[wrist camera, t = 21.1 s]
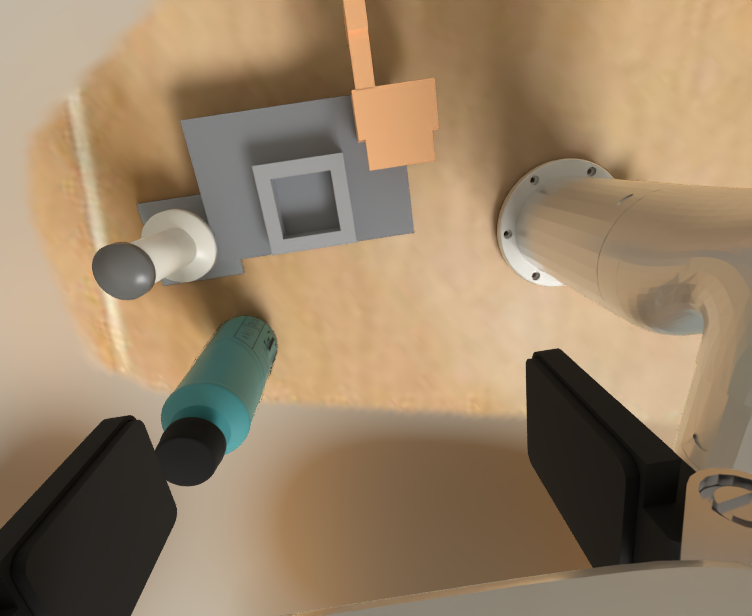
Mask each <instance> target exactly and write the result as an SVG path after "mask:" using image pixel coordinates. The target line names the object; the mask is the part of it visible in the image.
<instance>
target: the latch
mask: <svg viewBox="0 0 752 616" xmlns="http://www.w3.org/2000/svg"><path fill="white" fill-rule="evenodd" d="M343 17H344V24H345V31H346V38H347V45H348V47H349V50H350V57H351V64H352V71H353V78H354V85H355V90H351V101H352V108H353V114H354V121H355V128H356V135H357V142H358V143H360V142H365V143H366V151H367V158H368V165H369V170H370V171H371V170H378V169H384V168H391V167H398V166H404V165H411V164H417V163H424V162H431V161H435V155H434V144H433V133H432V131H433V130H436V129H439V124H438V112H437V100H436V88H435V78H428V79H421V80H415V81H408V82H401V83H395V84H388V85H381V86H375V82H374V74H373V66H372V58H371V50H370V43H369V35H368V22H367V14H366V7H365V0H343Z"/></svg>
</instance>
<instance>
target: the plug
mask: <svg viewBox="0 0 752 616" xmlns="http://www.w3.org/2000/svg"><path fill="white" fill-rule="evenodd" d="M217 255H218V245H217V240H216V237H215V235H214V233H213V231H212V229H211V228H210V226H209V225H208V224H207V223H206V222H205V221H204V220H203V219H202V218H201V217H199V216H198V215H196V214H194V213H192V212H190V211H187V210H182V209H171V210H166V211H163V212H160V213H157V214H155V215H153V216H152V217H151V218H150V219H149V220H148V221H147V222H146V224H145V225H144V227H143V230H142V233H141V239H138V240H136V241H133V242H130V243H127V242H117V243H113V244H110V245H107V246H105V247H103V248H101V249H100V250H99V251H98V252H97V253H96V254H95V256H94V258H93V262H92V270H93V275H94V277H95V280H96V281H97V283H98V284H99V286H100V287H101V288H102V289H103V290H104V291H105V292H106V293H108V294H109V295H111V296H113V297H115V298H118V299H122V300H133V299H136V298H139V297H140V296H142V295H144V294H146V293H147V292H148V291H150V290H151V288H152V287H153V285H154V283H156V282H158V281H160V280H162V279H163V278H167V279H169V280H172V281H176V282H191V281H194V280H197V279H199V278H200V277H202V276H203V275H205V274H206V273H208V272H209V271H210V270H211V269H212V267H213V266H214V264H215V262H216V259H217Z"/></svg>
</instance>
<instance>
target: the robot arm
mask: <svg viewBox="0 0 752 616" xmlns="http://www.w3.org/2000/svg"><path fill="white" fill-rule="evenodd" d="M588 169H589V173H588V174H587V171H588ZM531 178H533V181H532V182H530V179H531ZM505 231H507V234H506V235H504V232H505ZM497 239H498V244H499V249H500V251H501V254H502V256H503V258H504V260H505V261H506V263H507V264H508V266H509V267H510V268H511V269H512V270H513V271H514V272H515V273H516V274H517V275H519V276H520V277H522V278H523V279H525V280H527V281H529V282H531V283H533V284H537V285H541V286H550V287H557V286H564V285H566V286H567V287H569V288H571V289H572V290H574V291H576V292H578V293H579V294H581V295H583V296H584V297H586V298H588V299H589V300H591V301H593V302H595V303H596V304H598V305H600V306H601V307H603V308H605V309H606V310H608V311H610V312H612V313H613V314H615V315H617V316H618V317H620V318H622V319H624V320H626V321H627V322H629V323H631V324H633V325H635V326H637V327H639V328H641V329H643V330H646V331H649V332H653V333H657V334H662V335H673V336H687V335H696V334H703V335H702V340H701V344H700V348H699V351H698V355H697V358H696V368H695V372H694V375H693V379H692V382H691V386H690V389H689V393H688V396H687V400H686V403H685V407H684V410H683V414H682V417H681V421H680V424H679V429H678V432H677V436H676V440H675V443H674V449H673V450H672V449H671V448H669V447H668V446H667V445H666V444H665V443H664V442H663V441H662V440H661V439H659V438H658V437H657V436H656V435H655V434H654V433H653V432H652V431H651V430H650V429H648V428H647V427H646V426H645V425H644V424H643V423H642V422H641V421H640V420H639V419H637V418H636V417H635V416H634V415H633V414H632V413H631V412H630V411H629V410H627V409H626V408H625V407H624V406H623V405H622V404H621V403H620V402H619V401H617V400H616V399H615V398H614V397H613V396H612V395H610V394H609V393H608V392H607V391H606V390H605V389H604V388H603V387H602V386H600V385H599V384H598V383H597V382H596V381H595V380H594V379H593V378H592V377H591V376H589V375H588V374H587V373H586V372H585V371H584V370H583V369H582V368H581V367H579V366H578V365H577V364H576V363H575V362H574V361H573V360H572V359H571V358H570V357H568V356H567V355H566V354H565V353H564V352H563V351H562V350H560V349H559V348H558V349H551V350H544V351H538V352H534V353H533V356H532V359H527V361H526V399H527V442H528V443H527V444H528V455H529V459H530V462H531V464H532V466H533V468H534V469H535V471H536V473H537V475H538V476H539V478H540V479H541V481H542V483H543V485H544V486H545V488H546V489H547V491H548V493H549V495H550V496H551V498H552V500H553V501H554V503H555V505H556V507H557V508H558V510H559V511H560V513H561V515H562V516H563V518H564V520H565V522H566V523H567V525H568V527H569V528H570V530H571V531H572V533H573V535H574V537H575V538H576V540H577V542H578V543H579V545H580V547H581V549H582V550H583V552H584V554H585V555H586V557H587V558H588V560H589V562H590V564H591V565H592V567H593V568H590V569H582V570H575V571H568V572H561V573H553V574H546V575H538V576H531V577H524V578H518V579H511V580H504V581H498V582H491V583H485V584H478V585H472V586H466V587H459V588H453V589H446V590H440V591H433V592H427V593H421V594H414V595H408V596H401V597H394V598H388V599H381V600H376V601H369V602H364V603H357V604H350V605H344V606H338V607H332V608H325V609H319V610H313V611H306V612H300V613H294V614H288V615H282V616H752V188H729V187H710V186H697V185H683V184H671V183H658V182H646V181H633V180H621V179H614V178H613V177H612V176H611V175H610V173H609V172H608V171H606V170H605V169H604V168H602V167H601V166H599V165H598V164H595V163H593V162H590V161H588V160H582V159H576V158H564V159H558V160H552V161H549V162H546V163H544V164H541V165H539V166H537V167H536V168H534V169H532V170H530V171H529V172H528V173H527V174H525V175H524V176H523V177H522V178H521V179H519V181H518V182H517V183H516V184H515V185H514V186H513V188H512V189H511V190H510V192H509V193H508V195H507V197H506V199H505V200H504V202H503V205H502V208H501V210H500V213H499V218H498V223H497ZM533 273H534V275H533V276H532V274H533ZM176 517H177V508H176V504H175V502H174V499H173V496H172V494H171V491H170V489H169V486H168V484H167V481H166V479H165V476H164V473H163V471H162V468H161V466H160V463H159V461H158V458H157V456H156V453H155V451H154V448H153V445H152V443H151V441H150V438H149V435H148V433H147V430H146V428H145V425H144V423H143V422H142V421H140V420H136V418H135V417H134V416H131V415H128V416H122V417H115V418H109V419H104V420H103V421H102V422H101V423H100V424H99V425H98V426H97V427H96V428H95V429H94V430H93V431H92V432H91V433H90V434H89V436H88V437H87V438H86V439H85V440H84V441H83V442H82V443H81V444H80V445H79V446H78V447H77V448H76V449H75V450H74V451H73V453H72V454H71V455H70V456H69V457H68V458H67V459H66V460H65V461H64V462H63V463H62V464H61V466H59V467H58V468H57V470H56V471H55V472H54V473H53V474H52V475H51V476H50V477H49V478H48V479H47V480H46V481H45V482H44V483H43V484H42V486H41V487H40V488H39V489H38V490H37V491H36V492H35V493H34V494H33V495H32V496H31V497H30V498H29V499H28V500H27V502H26V503H25V504H24V505H23V506H22V507H21V508H20V509H19V510H18V511H17V512H16V513H15V514H14V516H13V517H12V518H11V519H10V520H9V521H8V522H7V523H6V524H5V525H4V526H3V527H2V528H1V529H0V616H131V614H132V612H133V610H134V608H135V606H136V603H137V601H138V599H139V597H140V595H141V593H142V591H143V589H144V587H145V585H146V582H147V580H148V578H149V576H150V574H151V572H152V570H153V568H154V565H155V564H156V561H157V559H158V557H159V555H160V553H161V551H162V549H163V547H164V545H165V543H166V540H167V538H168V536H169V534H170V532H171V530H172V528H173V526H174V524H175V521H176Z"/></svg>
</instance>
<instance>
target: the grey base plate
mask: <svg viewBox="0 0 752 616" xmlns="http://www.w3.org/2000/svg"><path fill="white" fill-rule="evenodd" d="M180 122H181V125H182V129H183V133H184V136H185V140H186V143H187V147H188V151H189V154H190V158H191V161H192V165H193V169H194V172H195V176H196V180H197V183H198V187H199V190H200V194H201V198H202V201H203V205H204V208H205V212H206V216H207V219H208V223H209V226H210V228H211V229H212V231H213V233H214V235H215V237H216V240H217V245H218V255H217V256H218V259H219V263H220V262H226V261H233V260H240V259H246V258H253V257H259V256H266V255H278V254H285V253H291V252H298V251H304V250H311V249H317V248H324V247H330V246H337V245H343V244H350V243H356V242H357V241H364V240H370V239H377V238H383V237H390V236H396V235H403V234H409V233H414V227H413V218H412V209H411V200H410V191H409V182H408V173H407V165H404V166H398V167H391V168H384V169H378V170H371V171H370V170H369V165H368V158H367V151H366V143H365V142H360V143H358V142H357V135H356V128H355V121H354V114H353V108H352V101H351V95H347V96H340V97H334V98H327V99H320V100H313V101H307V102H300V103H293V104H287V105H280V106H273V107H267V108H260V109H253V110H247V111H240V112H233V113H227V114H220V115H213V116H207V117H200V118H193V119H187V120H180Z"/></svg>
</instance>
